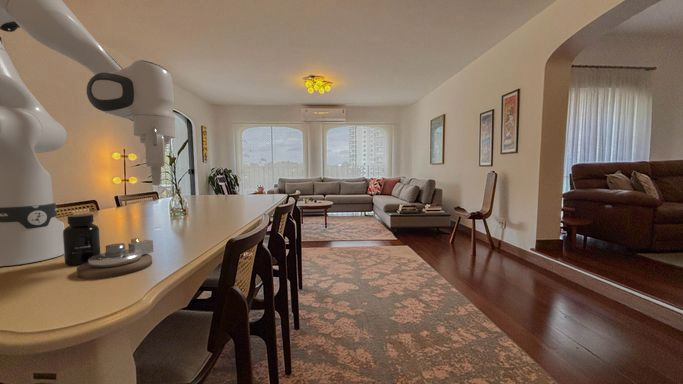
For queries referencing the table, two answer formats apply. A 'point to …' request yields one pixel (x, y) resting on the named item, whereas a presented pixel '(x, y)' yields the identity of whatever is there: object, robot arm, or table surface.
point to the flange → (121, 254)
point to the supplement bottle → (80, 239)
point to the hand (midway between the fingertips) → (156, 184)
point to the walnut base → (114, 268)
